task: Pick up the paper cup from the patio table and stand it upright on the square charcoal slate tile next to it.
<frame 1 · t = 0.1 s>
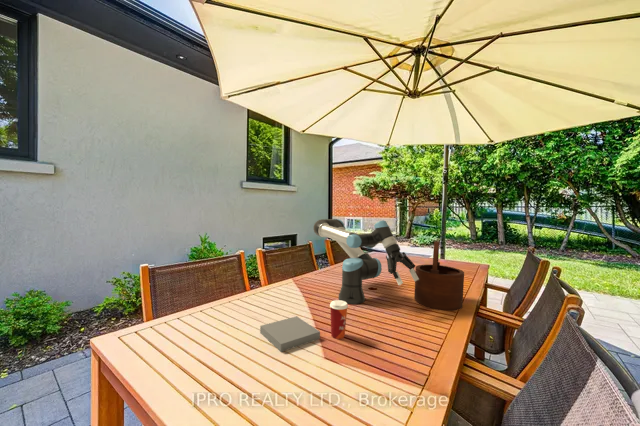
hand: (409, 282, 144), 15 cm above the table, tool tilted 35°, fingers open, 13 cm apart
slate tile: (289, 335, 114), on the table
paper cup: (337, 336, 116), on the table
wooden bucket: (437, 302, 160), on the table
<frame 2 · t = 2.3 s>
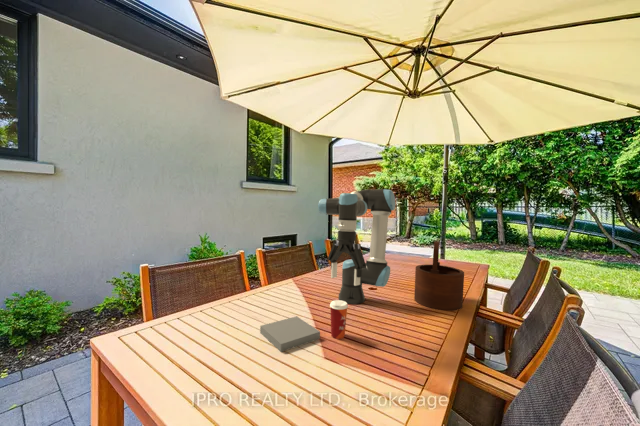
hand: (344, 281, 115), 23 cm above the table, tool pointing down, fingers open, 13 cm apart
nothing on the table moved.
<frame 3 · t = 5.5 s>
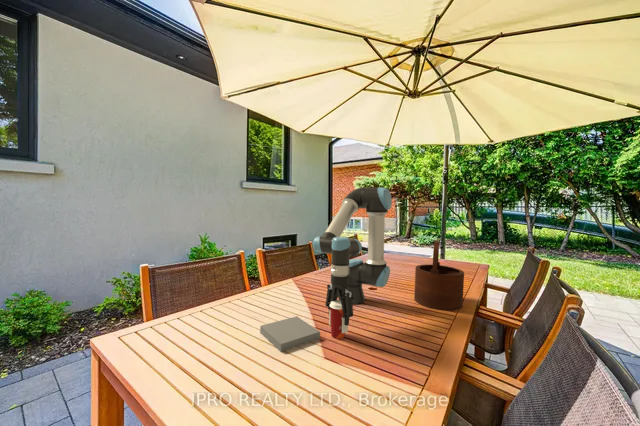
hand: (338, 328, 115), 3 cm above the table, tool pointing down, fingers closed on paper cup, 8 cm apart
paper cup: (337, 336, 116), on the table, touching gripper
everything else where it was.
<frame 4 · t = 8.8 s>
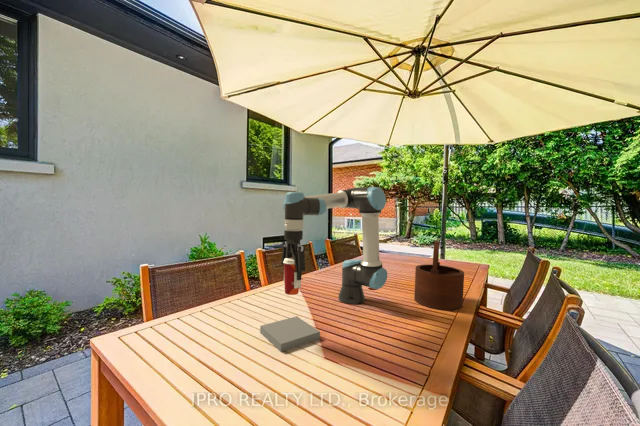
hand: (292, 285, 113), 21 cm above the table, tool pointing down, fingers closed on paper cup, 8 cm apart
paper cup: (291, 293, 113), point 18 cm above the table, touching gripper
everything else where it was.
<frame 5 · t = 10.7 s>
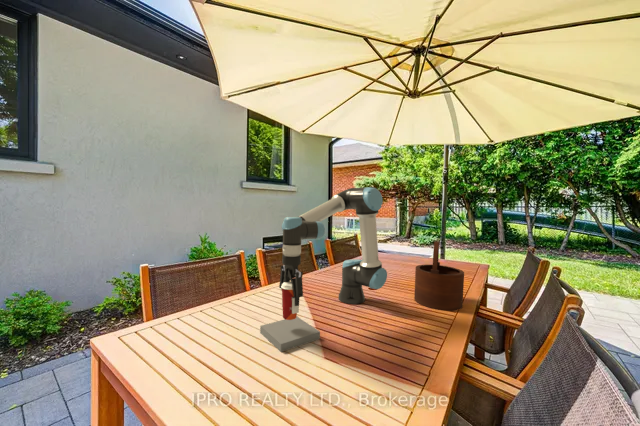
hand: (290, 309, 114), 11 cm above the table, tool pointing down, fingers closed on paper cup, 8 cm apart
paper cup: (289, 317, 114), point 8 cm above the table, touching gripper
everything else where it was.
when the fingers open (7 cm above the table, at t = 12.4 s): paper cup stays where it is, resting on slate tile.
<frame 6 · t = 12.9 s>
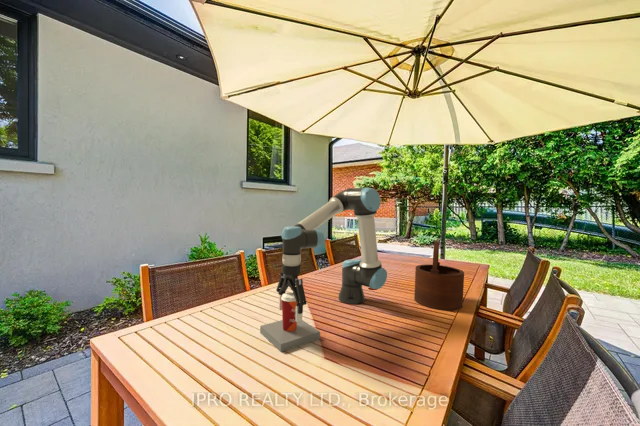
hand: (290, 315, 114), 9 cm above the table, tool pointing down, fingers open, 13 cm apart
paper cup: (289, 329, 114), point 3 cm above the table, touching slate tile
everything else where it was.
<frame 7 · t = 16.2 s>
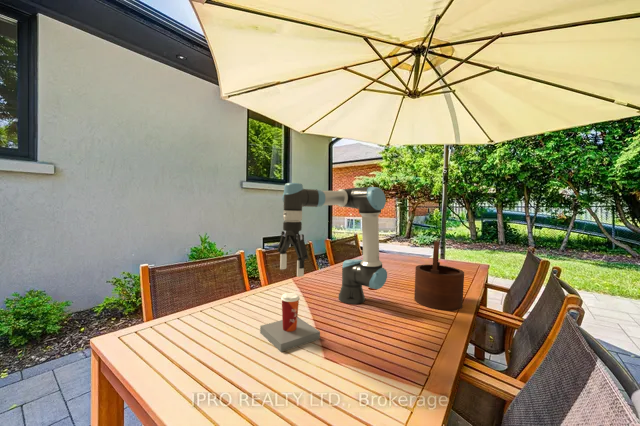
hand: (291, 272, 113), 26 cm above the table, tool pointing down, fingers open, 13 cm apart
nothing on the table moved.
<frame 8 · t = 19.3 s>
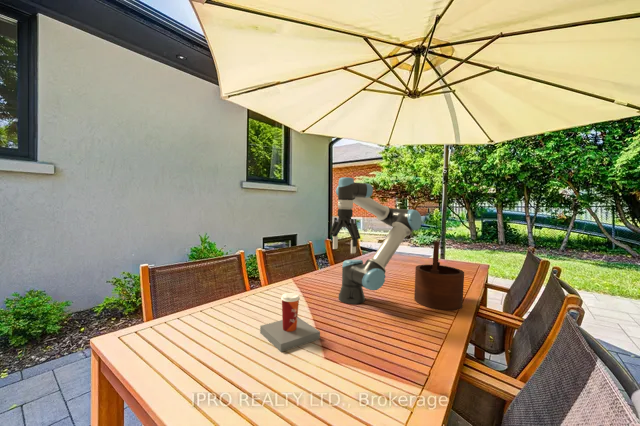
hand: (343, 251, 138), 32 cm above the table, tool pointing down, fingers open, 13 cm apart
nothing on the table moved.
at the end: paper cup inside the target area on the slate tile (0.1 cm from its centre), point 2.8 cm above the slate tile's base; paper cup tilted 0°; the gripper is holding nothing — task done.
